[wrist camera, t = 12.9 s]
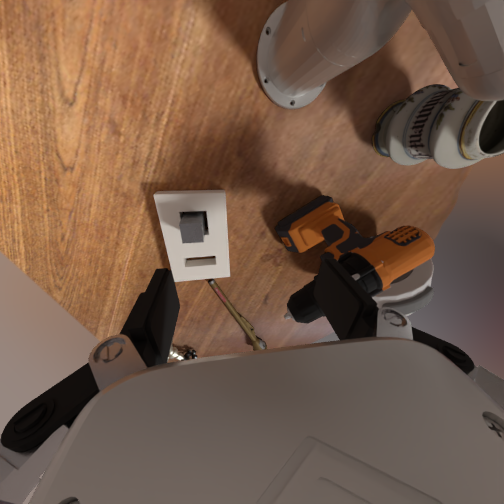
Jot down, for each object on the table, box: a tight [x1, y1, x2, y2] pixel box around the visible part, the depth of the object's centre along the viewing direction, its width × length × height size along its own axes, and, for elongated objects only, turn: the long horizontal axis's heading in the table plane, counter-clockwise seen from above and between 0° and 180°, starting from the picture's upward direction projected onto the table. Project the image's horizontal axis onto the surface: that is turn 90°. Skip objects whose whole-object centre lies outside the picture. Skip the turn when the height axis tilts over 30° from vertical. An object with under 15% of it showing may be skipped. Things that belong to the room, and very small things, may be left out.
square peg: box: [179, 211, 206, 243], centre depth 37 cm, size 4×4×8 cm
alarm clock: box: [370, 237, 434, 316], centre depth 45 cm, size 21×8×20 cm, turn 111°
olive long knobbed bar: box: [208, 279, 267, 351], centre depth 57 cm, size 5×35×5 cm
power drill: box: [275, 195, 435, 323], centre depth 35 cm, size 22×7×25 cm, turn 121°
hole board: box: [153, 190, 230, 282], centre depth 41 cm, size 20×13×3 cm, turn 179°
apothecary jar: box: [372, 84, 504, 169], centre depth 31 cm, size 12×12×18 cm
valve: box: [167, 339, 197, 361], centre depth 56 cm, size 7×7×12 cm
